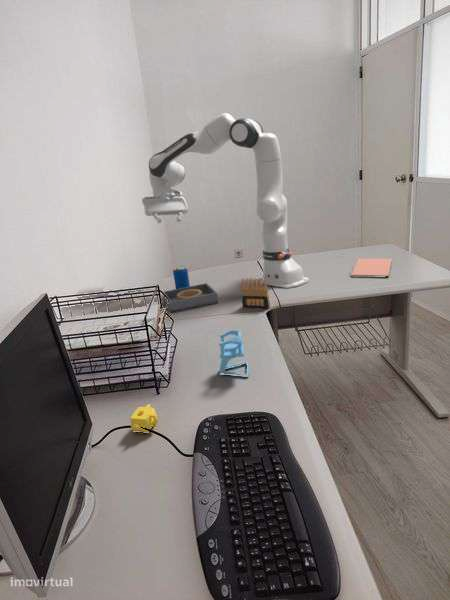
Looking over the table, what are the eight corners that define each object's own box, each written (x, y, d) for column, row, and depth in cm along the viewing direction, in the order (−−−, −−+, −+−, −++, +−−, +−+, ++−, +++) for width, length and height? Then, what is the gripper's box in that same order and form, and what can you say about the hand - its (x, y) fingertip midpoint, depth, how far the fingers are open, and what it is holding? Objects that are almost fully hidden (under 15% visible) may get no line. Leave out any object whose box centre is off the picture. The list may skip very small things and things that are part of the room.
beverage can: (176, 291, 189) (172, 267, 185) (190, 290, 189) (187, 265, 185) (176, 296, 183) (172, 270, 179) (190, 294, 183) (186, 269, 179)
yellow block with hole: (151, 442, 90) (147, 422, 88) (128, 439, 91) (123, 420, 90) (165, 419, 97) (162, 401, 95) (143, 418, 99) (140, 399, 97)
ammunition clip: (270, 307, 158) (267, 277, 154) (268, 309, 156) (266, 279, 152) (244, 306, 162) (241, 277, 158) (242, 308, 160) (239, 279, 156)
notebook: (356, 261, 205) (356, 258, 204) (391, 262, 198) (392, 258, 197) (348, 278, 182) (348, 274, 181) (388, 279, 175) (388, 274, 174)
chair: (220, 366, 118) (215, 328, 114) (248, 363, 118) (244, 326, 114) (219, 380, 111) (213, 340, 107) (249, 377, 111) (245, 338, 107)
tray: (164, 301, 178) (162, 291, 176) (208, 292, 183) (206, 283, 181) (171, 313, 163) (169, 302, 162) (218, 303, 169) (217, 292, 167)
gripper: (142, 193, 184) (148, 219, 180) (185, 191, 192) (191, 217, 188) (140, 201, 190) (146, 226, 186) (182, 199, 198) (188, 224, 194)
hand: (169, 221), depth 187 cm, fingers open, 8 cm apart
